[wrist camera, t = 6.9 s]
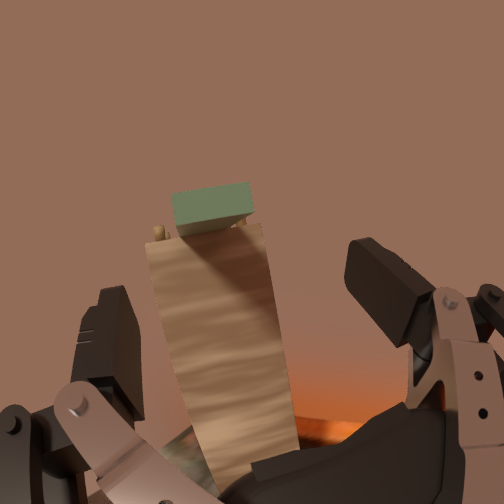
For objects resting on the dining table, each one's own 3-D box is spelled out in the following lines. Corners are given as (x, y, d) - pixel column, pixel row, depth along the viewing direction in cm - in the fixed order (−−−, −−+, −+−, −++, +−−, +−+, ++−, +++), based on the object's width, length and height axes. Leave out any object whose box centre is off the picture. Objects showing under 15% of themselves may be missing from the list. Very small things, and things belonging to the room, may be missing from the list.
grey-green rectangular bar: (254, 212, 15) (238, 129, 15) (175, 225, 14) (163, 139, 14) (213, 236, 36) (207, 200, 36) (181, 242, 35) (175, 206, 35)
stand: (305, 486, 26) (257, 205, 25) (227, 508, 24) (142, 226, 23) (273, 432, 40) (231, 222, 39) (213, 447, 38) (157, 236, 36)
